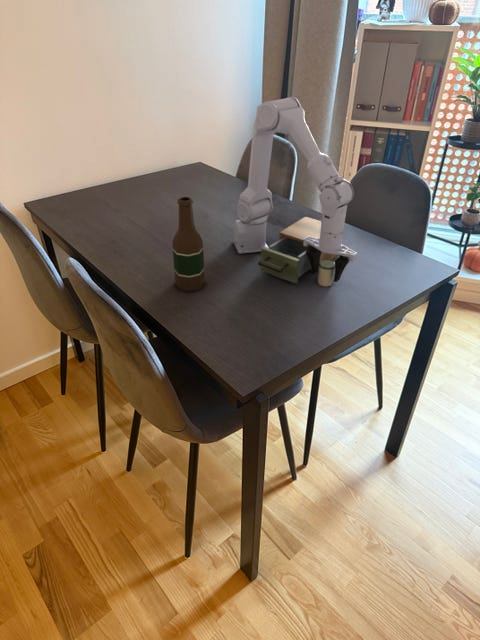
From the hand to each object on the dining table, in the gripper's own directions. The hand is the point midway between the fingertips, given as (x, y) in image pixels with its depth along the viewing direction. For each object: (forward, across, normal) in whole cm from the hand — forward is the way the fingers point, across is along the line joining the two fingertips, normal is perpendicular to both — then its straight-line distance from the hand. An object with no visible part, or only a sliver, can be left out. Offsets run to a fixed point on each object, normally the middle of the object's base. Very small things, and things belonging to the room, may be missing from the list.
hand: (325, 276), depth 129 cm
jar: (+2, 0, 0) cm, 2 cm away
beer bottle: (+2, +28, +23) cm, 37 cm away
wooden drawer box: (+2, +11, -10) cm, 15 cm away
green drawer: (+1, +11, +3) cm, 11 cm away
